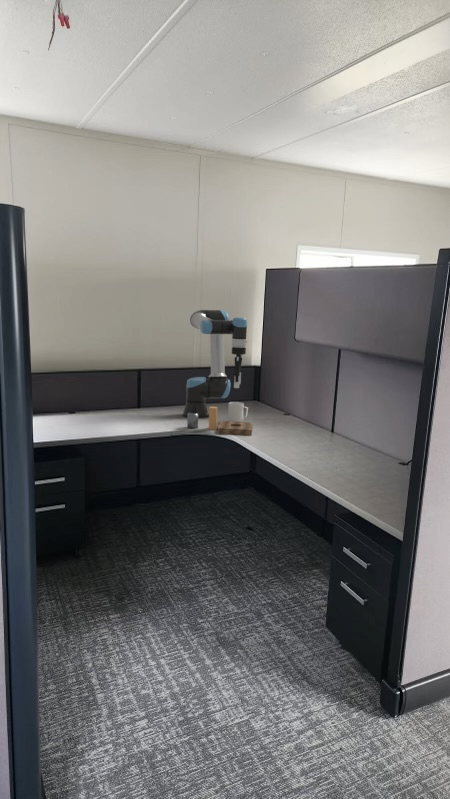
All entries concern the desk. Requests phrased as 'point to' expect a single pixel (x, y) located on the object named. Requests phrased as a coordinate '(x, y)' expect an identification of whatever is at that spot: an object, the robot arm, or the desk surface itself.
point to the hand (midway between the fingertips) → (237, 386)
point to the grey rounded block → (192, 420)
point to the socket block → (235, 428)
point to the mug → (236, 411)
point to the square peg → (213, 418)
